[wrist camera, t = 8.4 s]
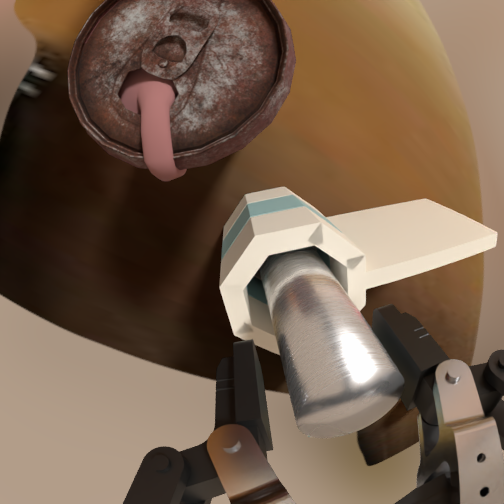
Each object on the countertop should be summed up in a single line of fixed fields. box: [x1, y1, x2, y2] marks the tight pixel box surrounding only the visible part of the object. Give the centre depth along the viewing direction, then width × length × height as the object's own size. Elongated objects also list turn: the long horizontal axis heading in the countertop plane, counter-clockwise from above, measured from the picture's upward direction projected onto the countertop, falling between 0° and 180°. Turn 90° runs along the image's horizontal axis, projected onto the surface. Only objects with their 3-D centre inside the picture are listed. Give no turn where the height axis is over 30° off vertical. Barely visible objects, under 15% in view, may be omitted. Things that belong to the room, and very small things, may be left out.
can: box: [67, 0, 296, 181], centre depth 11 cm, size 6×6×14 cm
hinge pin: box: [259, 246, 404, 438], centre depth 14 cm, size 4×4×16 cm
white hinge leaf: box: [219, 187, 497, 355], centre depth 17 cm, size 7×18×9 cm, turn 102°
